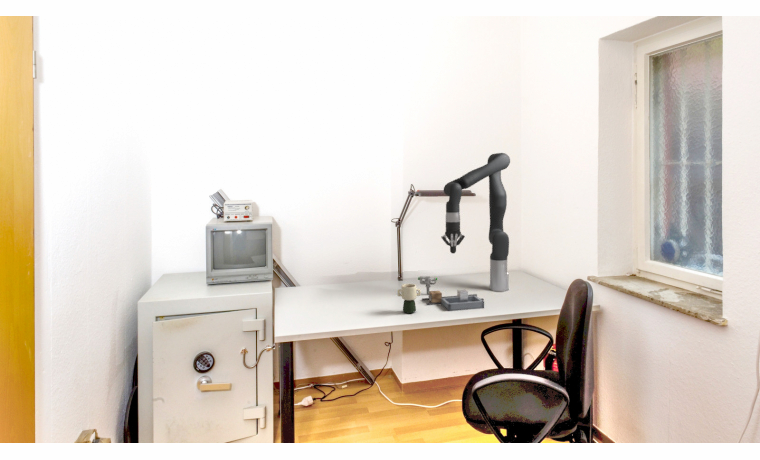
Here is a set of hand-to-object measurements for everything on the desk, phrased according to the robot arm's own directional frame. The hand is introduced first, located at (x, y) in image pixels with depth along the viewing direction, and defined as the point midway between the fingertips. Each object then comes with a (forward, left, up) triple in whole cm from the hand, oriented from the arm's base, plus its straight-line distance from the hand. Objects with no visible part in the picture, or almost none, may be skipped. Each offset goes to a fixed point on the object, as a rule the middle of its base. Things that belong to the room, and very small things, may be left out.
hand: (453, 253), depth 224 cm
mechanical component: (+13, -4, -23) cm, 27 cm away
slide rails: (+4, +10, -23) cm, 25 cm away
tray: (+3, +20, -23) cm, 31 cm away
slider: (+13, +10, -23) cm, 28 cm away
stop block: (+3, +20, -22) cm, 30 cm away
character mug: (+30, +22, -23) cm, 44 cm away
